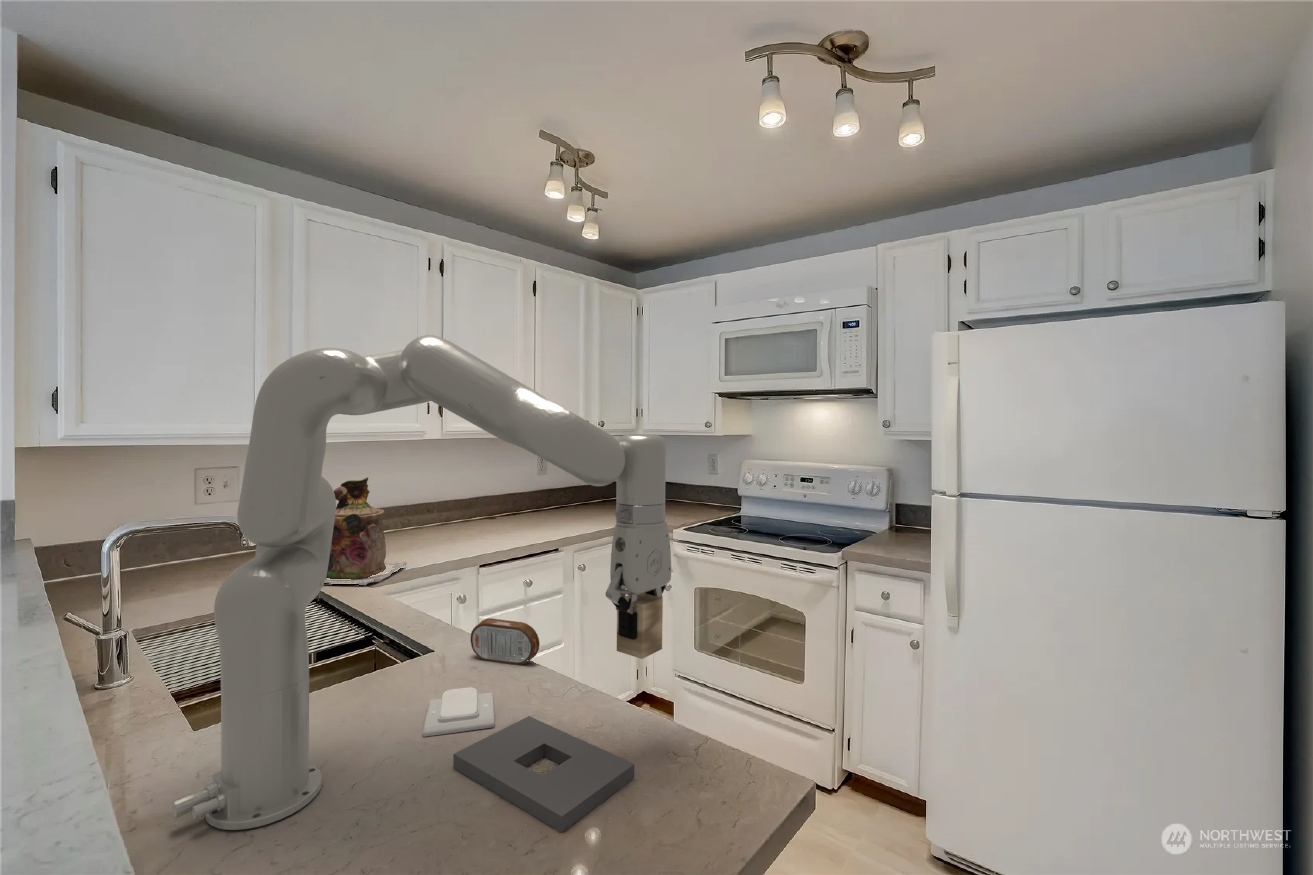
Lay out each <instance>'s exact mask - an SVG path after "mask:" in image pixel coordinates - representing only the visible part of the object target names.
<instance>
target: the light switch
mask: <svg viewBox="0 0 1313 875" xmlns="http://www.w3.org/2000/svg"><path fill="white" fill-rule="evenodd" d="M494 704H495V702H494V694H493V692H485V693H478V690H477V689H476V688H475V687H471V686H469V687H461V688H452V689H448V690H445V691H444V692H443V694H442V695H441V698H435V699H429V702H428V707H427V710H426V711H427V712H426V716H425V719H424V720H425V721H424V724H423V728H422V730H423V731H422V737H433V736H439V735H446V734H447V735H448V734H454V733H461V732H463V733H464V732H468V731H476V730H484V729H491V728H494V727H495V706H494Z"/></svg>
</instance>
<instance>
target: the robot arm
mask: <svg viewBox="0 0 1313 875" xmlns="http://www.w3.org/2000/svg"><path fill="white" fill-rule="evenodd" d="M428 402H429V403H430V402H433V403H434V404H436V405H438V406H440V407H442V408H443V409H445V410H447V411H448V412H451V413H452V414H455V415H456V416H458V417H459V418H461V419H463V420H466V421H467V422H469V423H470V424H472V425H474V426H475V427H478V428H480V429H481V430H483V431H485V432H486V433H488V434H490V435H492V436H493V437H495V438H497V439H499V440H501V441H503V442H506V443H509V444H511V445H514V446H517V447H519V448H522V449H523V450H526V451H528V452H530V453H532V454H533V455H535V456H537V457H538V458H541V459H542V460H544V461H546V462H548V463H550V464H552V465H554V466H555V467H557V468H559V469H561V470H563V471H564V472H566V473H568V474H570V475H571V476H573V477H575V479H578V480H579V481H582V482H584V483H585V484H587V485H589V486H593V487H604V486H608V485H610V484H612V483H614V482H615V481H616V483H615V484H616V488H615V489H616V491H615V492H616V493H615V494H616V497H615V498H616V504H615V505H616V506H615V510H616V512H615V518H616V519H615V520H616V521H615V525H614V530H613V534H612V535H613V536H612V542H611V543H612V544H611V552H610V568H609V570H610V572H609V573H610V577H609V578H610V583H609V584H608V586H607V589H606V592H605V597H606V598H607V599H608V600H610V601H611V602H612V604H613V606H615V610H616V611H617V610H618V611H619V626H618V634H619V636H621V637H625V638H628V639H632V640H634V639H636V638H637V613H636V612H634V610H635V605H636V600H637V595H639V594H642V593H644V594H649V595H653V596H657V597H662V598H663V599H664V597H663V593H664V592H665V589H666V586H667V585H668V584H669V583H670V582H671V579H672V551H671V550H672V549H671V539H670V531H669V527H668V526H669V525H668V522H667V521H666V464H667V463H666V462H667V461H666V456H667V453H666V449H667V446H666V441H665V439H664V437H663V436H661V435H658V434H648V433H647V434H646V433H643V434H641V433H639V434H635V433H634V434H631V433H629V434H624V435H611V434H610V433H609V432H606V431H605V430H603V429H602V428H600V427H598V426H597V425H595V424H593V423H591V422H590V421H588V420H586V419H584V418H583V417H581V416H579V415H578V414H576V413H574V412H572V411H570V410H569V409H567V408H565V407H563V406H562V405H560V404H558V403H556V402H554V401H552V400H551V399H549V398H547V397H545V396H544V395H542V394H540V393H539V392H538V391H536V390H534V389H533V388H531V387H529V386H528V385H526V384H523V383H522V382H520V381H518V379H515V378H513V377H512V376H509V374H506V373H505V372H503V371H501V370H499V369H498V368H496V367H495V366H492V365H491V364H489V363H488V362H487V361H484V360H482V359H481V358H479V357H477V356H476V355H474V354H473V353H470V352H469V351H468V350H466V349H463V348H462V347H460V346H459V345H457V344H456V343H454V342H452V341H451V340H447V339H446V338H444V337H441V336H437V335H434V334H433V335H432V334H431V335H430V334H427V335H421V336H419V337H416V338H415V339H413V340H411V341H410V342H409V343H408V344H407V345H406V346H405V347H404V349H401V350H397V351H390V352H385V353H384V352H383V353H379V354H378V353H377V354H372V355H367V356H366V355H364V356H362V355H360V354H358V353H356V352H354V351H351V350H349V349H345V348H340V347H339V348H337V347H325V348H324V347H323V348H322V347H321V348H316V349H312V350H308V351H304V352H302V353H299V354H297V355H294V356H292V357H290V358H287V359H286V360H285V361H283V362H281V363H280V364H279V365H277V367H275V368H274V369H273V370H272V371H271V372H270V373H269V375H268V376H267V377H266V378H265V380H264V382H263V383H262V384H261V387H260V388H259V391H258V394H257V397H256V401H255V404H254V410H253V414H252V421H251V422H252V423H251V429H250V436H249V443H248V447H247V453H246V458H245V464H244V471H243V478H242V482H241V490H240V495H239V500H238V506H237V507H238V508H237V514H236V515H237V525H238V527H239V530H240V532H241V534H242V535H243V536H244V538H246V540H248V541H249V542H250V543H252V544H254V545H256V547H255V555H254V557H253V558H251V559H249V560H247V561H245V562H244V563H242V564H241V565H239V566H238V567H236V568H235V569H234V570H233V571H232V572H231V573H230V574H228V575H227V577H226V578H225V579H224V581H223V582H222V583H221V585H220V587H219V588H218V591H217V593H216V596H215V599H214V605H213V614H214V615H213V616H214V617H213V618H214V619H213V620H214V625H215V630H216V631H215V632H216V635H217V640H218V647H219V662H220V663H219V664H220V695H221V696H220V702H221V703H220V771H218V772H215V773H213V774H212V783H209V784H207V785H204V786H203V790H200V791H196V792H195V793H190V794H187V795H185V796H183V797H179V798H177V799H174V800H172V801H171V812H172V816H173V818H174V819H177V818H180V817H182V816H184V815H186V814H189V813H191V816H192V819H193V820H195V819H198V818H200V817H203V816H205V819H206V822H207V823H208V824H209V825H210V826H211V827H213V828H217V829H219V830H226V831H238V830H239V831H240V830H249V829H253V828H259V827H264V826H266V825H270V824H272V823H275V822H278V821H279V820H280V821H281V820H282V819H284V818H286V817H289V816H291V815H293V814H294V813H296V812H298V811H300V810H301V809H302V808H304V807H305V806H307V805H308V804H309V803H310V802H311V801H312V800H313V799H315V798H316V796H317V795H319V792H320V791H321V788H322V785H323V774H322V772H321V770H320V769H319V768H318V767H316V766H315V765H313V764H309V763H310V654H309V653H310V652H309V651H310V650H309V648H310V647H309V638H308V632H307V626H306V609H307V607H308V606H309V605H310V604H311V602H312V601H313V600H315V598H316V597H318V595H319V594H320V592H321V591H322V589H323V587H324V585H325V584H324V582H325V579H326V575H327V570H328V564H329V556H330V549H331V542H332V535H333V528H334V521H335V514H336V507H337V502H336V501H337V500H336V499H335V494H334V489H333V487H332V485H331V484H330V483H329V481H328V480H327V479H326V478H325V477H324V476H323V475H322V474H323V465H324V459H325V454H326V449H327V448H326V447H327V428H328V425H329V422H330V420H331V419H332V417H334V416H337V415H348V416H362V415H363V416H364V415H369V414H373V413H378V412H384V411H388V410H389V411H390V410H394V409H400V408H405V407H409V406H414V405H415V406H416V405H421V404H424V403H428ZM627 595H630V596H629V601H627V600H626V599H625V596H627Z"/></svg>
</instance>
